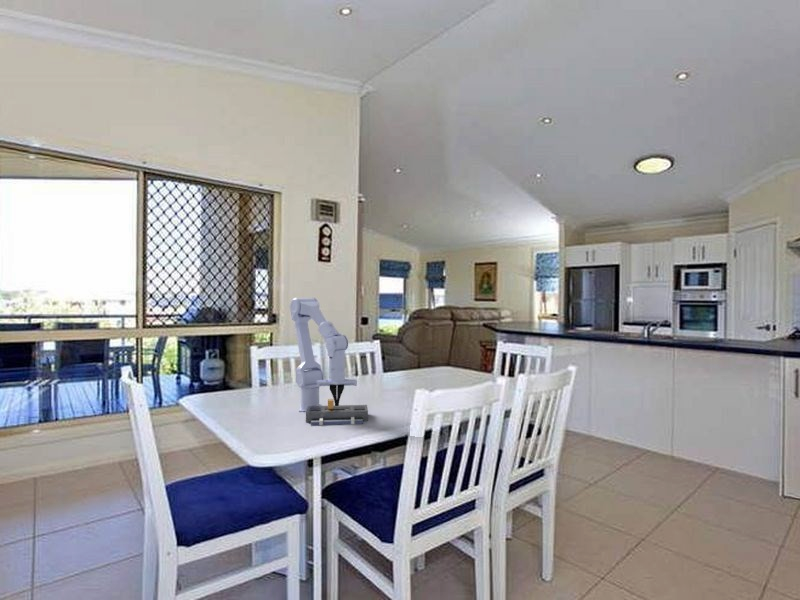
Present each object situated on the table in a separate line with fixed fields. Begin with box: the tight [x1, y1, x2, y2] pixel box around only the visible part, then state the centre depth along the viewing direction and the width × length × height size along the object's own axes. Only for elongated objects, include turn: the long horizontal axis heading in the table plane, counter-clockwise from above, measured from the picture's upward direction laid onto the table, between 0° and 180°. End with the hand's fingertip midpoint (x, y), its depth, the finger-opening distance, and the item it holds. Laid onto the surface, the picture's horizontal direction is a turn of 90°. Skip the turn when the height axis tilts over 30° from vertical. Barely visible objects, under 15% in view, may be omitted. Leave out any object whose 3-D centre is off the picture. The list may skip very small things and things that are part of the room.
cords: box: [310, 417, 364, 426], centre depth 167 cm, size 4×18×2 cm, turn 96°
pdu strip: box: [305, 404, 369, 423], centre depth 173 cm, size 9×22×4 cm, turn 96°
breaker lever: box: [327, 398, 335, 409], centre depth 173 cm, size 2×2×3 cm
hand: (336, 405), depth 173 cm, fingers closed
